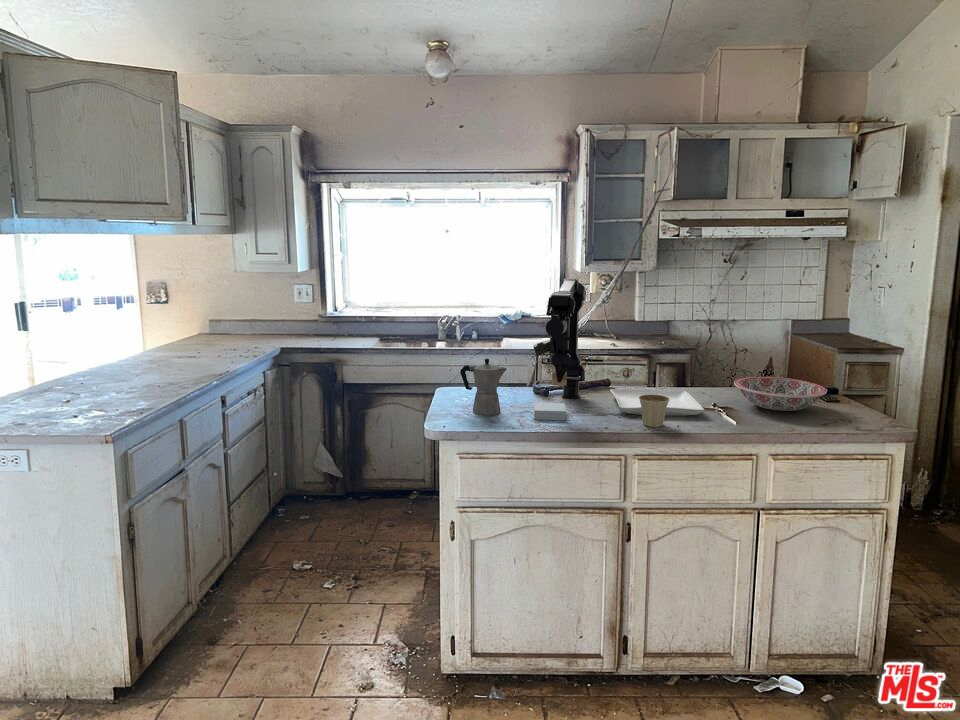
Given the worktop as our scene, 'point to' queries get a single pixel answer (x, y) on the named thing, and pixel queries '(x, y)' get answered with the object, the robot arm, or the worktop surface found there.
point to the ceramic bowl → (780, 392)
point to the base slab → (550, 411)
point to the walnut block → (554, 379)
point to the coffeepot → (484, 387)
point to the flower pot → (653, 409)
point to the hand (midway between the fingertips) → (558, 380)
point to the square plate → (679, 400)
